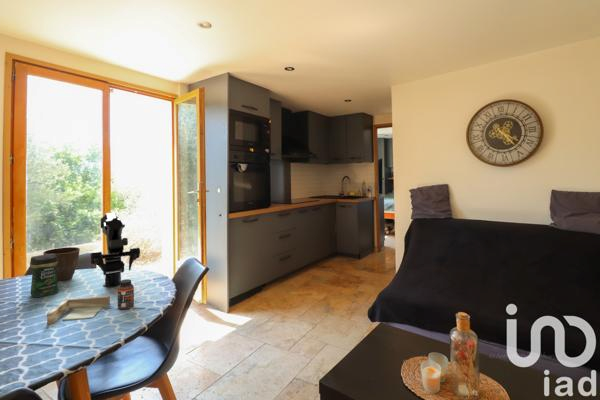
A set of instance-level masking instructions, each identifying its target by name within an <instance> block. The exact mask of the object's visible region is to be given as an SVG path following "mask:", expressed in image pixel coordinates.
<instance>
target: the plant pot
mask: <svg viewBox="0 0 600 400" xmlns="http://www.w3.org/2000/svg"><path fill="white" fill-rule="evenodd" d="M80 251H81V250H80V248H79V247H75V246H72V247H71V246H69V247H58V248H53V249H47V250H45V251H43V254H42V255H46V254H55V255H56V256H57V261H58V263H57V265H56V275H57V282H58V283H64V282H68V281H70V280H72V279H73V276H74V274H75V271H76V269H77V265H78V261H79V257H80Z"/></svg>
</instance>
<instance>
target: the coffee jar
mask: <svg viewBox="0 0 600 400" xmlns="http://www.w3.org/2000/svg"><path fill="white" fill-rule="evenodd" d="M57 263H58V261H57V256H56V255H55V254H46V255H44V254H41V255H35V256H33V255H32V256H31V257H30V262H29V266H30V267H29V268H30V269H31V277H32V278H31V285H30V296H31V297H32V298H40V297H41V298H42V297H46V296H50V295H53V294H56V293H58V292H59V282H57V275H56V265H57Z"/></svg>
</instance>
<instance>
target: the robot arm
mask: <svg viewBox="0 0 600 400" xmlns="http://www.w3.org/2000/svg"><path fill="white" fill-rule="evenodd" d="M125 227H126V224H125V223H124V222H123V221H122V220H121V219H120V218H119V217H118V216H117V213H115V212H106V213H104V216H102V217H101V218H100V229H101V230H102V233H103V234H104V235H105V236H106V237H105V238H106V252H107V253H103V251H102V250H101V251H92V252H91V253H90V264H92V265H95V266H98V267H99V268H100V270H101V271H102V273H103V276H105V277H104V284H103V285H102V286H103V287H110V288H115V287H117V286H120V281H122V273H124V272H125V262H124V260H122V257H129V259H128V271H131V270H132V265H133V263H134V262H135V261H136V260H137V259H139V258H140V255H141V249H140V247H130V248H129V251H125V248H124V246H125V247H126V246H129V245H128V244H129V243H128V242H129V241H128V237H122V234H123V230H124V228H125Z"/></svg>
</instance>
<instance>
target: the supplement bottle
mask: <svg viewBox="0 0 600 400" xmlns="http://www.w3.org/2000/svg"><path fill="white" fill-rule="evenodd" d="M134 304H135V287H134V284H133V283H132V280H131V279H128V278H126V279H121V281H120V285H118V287H117V308H118V309H119V310H126V309H131V308H132V307H133V306H134Z"/></svg>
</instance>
